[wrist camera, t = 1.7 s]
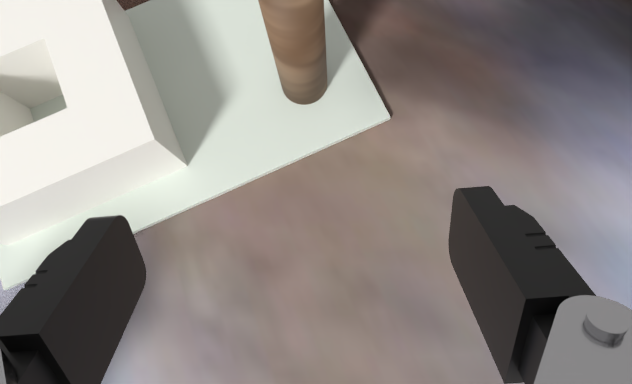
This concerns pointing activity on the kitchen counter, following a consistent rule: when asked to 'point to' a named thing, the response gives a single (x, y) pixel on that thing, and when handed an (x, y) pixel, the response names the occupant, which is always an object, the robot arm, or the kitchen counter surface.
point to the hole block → (75, 113)
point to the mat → (217, 113)
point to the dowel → (298, 46)
